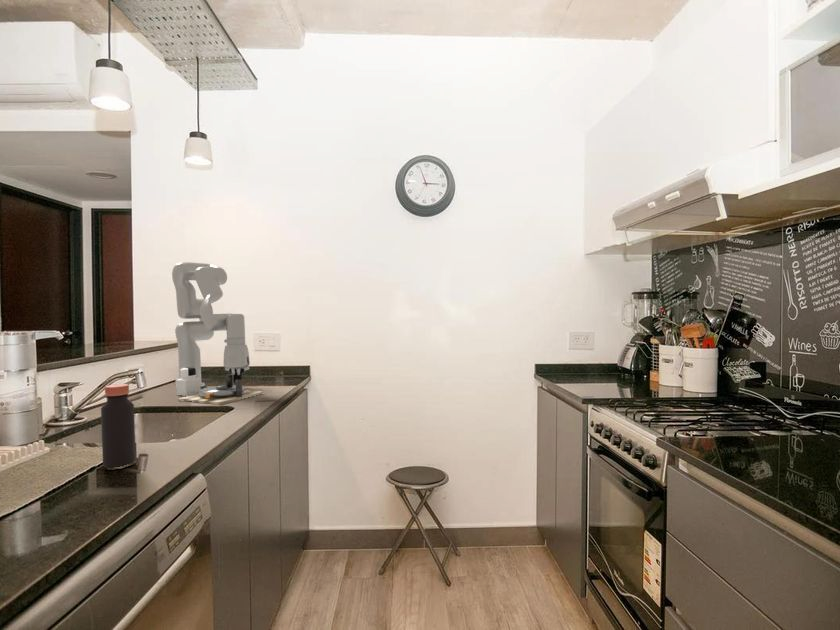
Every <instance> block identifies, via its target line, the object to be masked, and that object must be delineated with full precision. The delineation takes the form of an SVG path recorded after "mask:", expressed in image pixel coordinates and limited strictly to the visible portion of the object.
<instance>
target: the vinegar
mask: <svg viewBox="0 0 840 630" xmlns="http://www.w3.org/2000/svg"><path fill="white" fill-rule="evenodd" d="M129 387H130V386H129V384H128V383H119V384H117V383H116V384H110V385H105V387H104V395H105V398H106V402H104V404H103V405H102V406H101V408H100V416H101V417H100V418H101V419H100V420H101V444H102V445H101V448H102V450H101V451H102V467H103V466H104V467H106V468H114V467H120V466H124V465H127V464H130V463H133V462H134V461H135V460H137V459H136V458H137V457H136V456H137V455H136V433H135V432H136V431H135V430H136V429H135V404H134V403H133V402H132V401H131V400H130V399H129V398H128V397H129V396H130V394H129V393H130V388H129Z"/></svg>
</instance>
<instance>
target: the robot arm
mask: <svg viewBox="0 0 840 630" xmlns="http://www.w3.org/2000/svg"><path fill="white" fill-rule="evenodd" d="M171 271H172V272H171V278H172V282H173V285H174V288H175V295H176V311H177V315H178V317H179V318H181V319H184V320H187V319H188V320H190V319H191V321H183V322H180V323H178V324H177V325H176V327H175V329H174V331H175V332H174V333H175V338H176V343H177V349H178V351H177V353H178V355H177V356H178V378H177V379H181V373H180V370H181V369H182V368H187V367H193V368H195V369H196V376H195V378H200V382H201V388H203V387H205V386H206V384H205V382H202V366H201V365H202V364H201V362H202V361H201V348H200V347H199V345H198V344H197V342H199V341H208V340H209V341H210V340H211V339H212V338H213V337H214V335H215V334H214V333H215V332H219V331H220V332H223V331H224V332H225V331H226V339H224V340H223V341H224V343H225V344H226V345H225V346H224V350H223V367H224V371H227V372H230V373H231V375H232V376H233V385H236V380H242V381H243V376H242V374H243V373H245V371H248V370H250V352H249V349H248V344H246V330H245V329H246V327H245V326H246V325H245V315H244V314H243V313H214V311H213V310H214V309H213V305H212V304H214V303H216V302H217V301H219V300H220V299H221V298H222V297H223V295H224V293H223V290H222V288H221V286H223V285H224V284H226V283H227V281H228V274H227V272H226V269H224V268H222V267H220V266H217V265H213V264H211V263H205V262H191V261H189V262H188V261H187V262H186V261H184V262H179V263H176V264H175V265H174V266H173V268H172V270H171ZM190 281H195V282H196V284H197V286H198V288H199V291H200V293H201V295H202V298H197V295H196V291H197V290H196V289H195V286H194V285H193V284H192V282H190ZM192 319H193V320H194V321H193V320H192ZM195 319H196V320H197V319H199V321H195ZM177 379H175V380H174V381H175V383H176V380H177Z"/></svg>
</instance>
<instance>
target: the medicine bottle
mask: <svg viewBox="0 0 840 630" xmlns="http://www.w3.org/2000/svg"><path fill="white" fill-rule="evenodd" d="M180 373H181V379H178V378H177V380H176V379H175V380H176V382H175V384H176V385H175V389H176V395H177V396H178V395H182V396H181V397H185V396H191V395H195V394H199V390H201V389H202V387H201V383H202V381H201V382H200V378H195V376H196V369H195V368H193V367H187V368H182V369H181V370H180Z"/></svg>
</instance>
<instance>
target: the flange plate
mask: <svg viewBox="0 0 840 630" xmlns="http://www.w3.org/2000/svg"><path fill="white" fill-rule="evenodd" d="M225 380H226V385H225V384H224V385H217V386H216V385H215V386H209V387H204V388H201V390H199V395H200V396H204V397H205V398H211V397H219V396H229V395H235V394H236V384H234V377H233V375H232V374H226V375H225ZM244 390H245V386H243V385H242V392H244Z"/></svg>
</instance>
